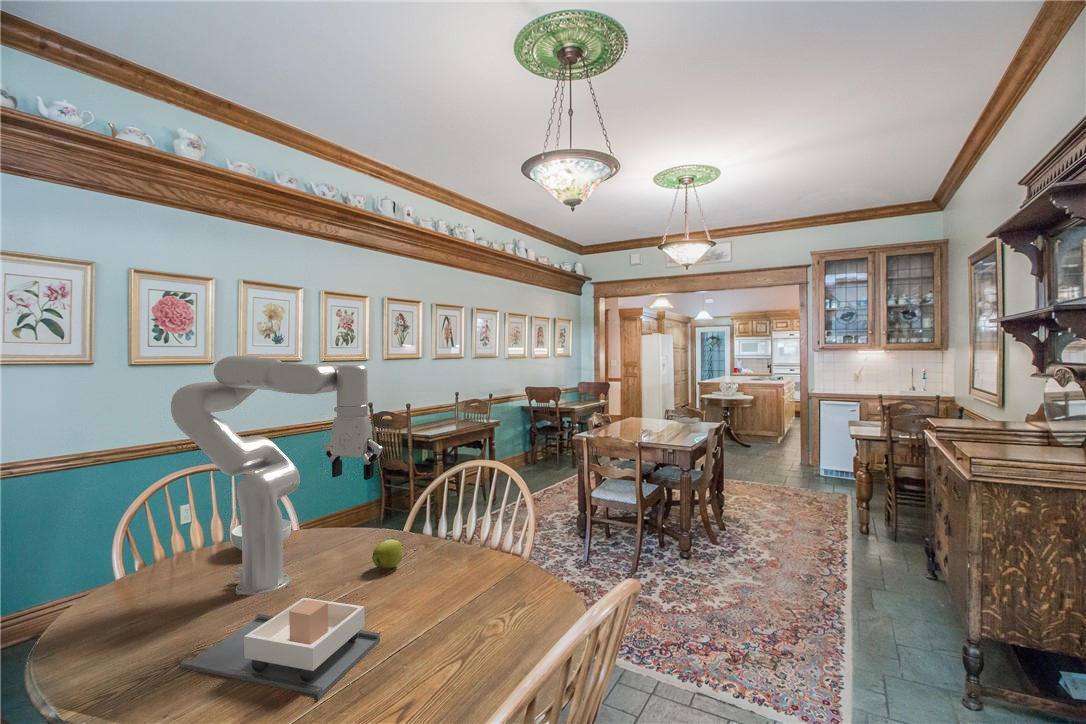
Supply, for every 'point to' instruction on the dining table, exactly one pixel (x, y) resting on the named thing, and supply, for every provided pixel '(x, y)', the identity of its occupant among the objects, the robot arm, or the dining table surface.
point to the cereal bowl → (237, 533)
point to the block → (308, 622)
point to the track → (233, 663)
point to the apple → (388, 554)
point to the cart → (277, 648)
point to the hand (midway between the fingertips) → (352, 477)
